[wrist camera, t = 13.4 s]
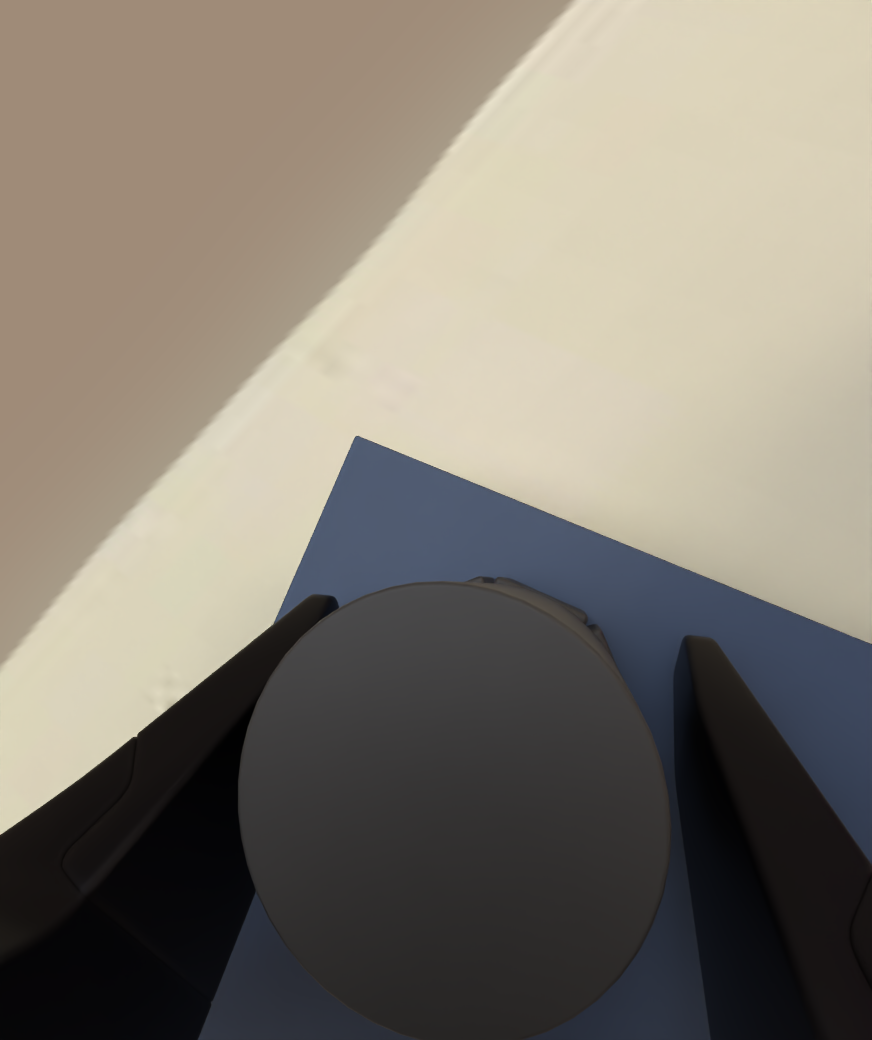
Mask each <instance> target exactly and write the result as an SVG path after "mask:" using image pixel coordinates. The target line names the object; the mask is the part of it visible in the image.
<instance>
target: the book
mask: <svg viewBox="0 0 872 1040" xmlns="http://www.w3.org/2000/svg"><path fill="white" fill-rule="evenodd" d="M478 576H484V577H493V578H494V580H495V579H496V578H497V577H506V578H511V579H513V580H515V581H518V582H520V583H522V584H524V585H527V586H529V587H531V588H533V589H536V590H538V591H540V592H542V593H545V594H547V595H549V596H551V597H554V598H556V599H558V600H561V601H563V602H565V603H567V604H570V605H572V606H574V607H576V608H579V609H581V610H583V611H584V612H585V613H586V614H587V616H588V621H587V624H586V626H589V625H592V624H597V625H598V626H599V627H600V629H601V630H602V632H603V634H604V636H605V639H606V641H607V644H608V646H609V648H610V651H611V653H612V656H613V658H614V660H615V663H616V665H617V668H618V670H619V672H620V673H621V675H622V677H623V679H624V681H625V683H626V684H627V686H628V688H629V690H630V692H631V694H632V695H633V697H634V699H635V701H636V703H637V705H638V707H639V709H640V711H641V713H642V715H643V717H644V719H645V721H646V723H647V725H648V727H649V729H650V731H651V733H652V736H653V739H654V742H655V745H656V748H657V750H658V753H659V756H660V759H661V762H662V766H663V770H664V775H665V780H666V785H667V789H668V794H669V804H670V816H671V847H670V863H669V868H668V873H667V878H666V883H665V889H664V894H663V897H662V900H661V902H660V905H659V908H658V911H657V914H656V917H655V920H654V923H653V925H652V927H651V929H650V931H649V933H648V935H647V937H646V939H645V941H644V942H643V944H642V946H641V948H640V950H639V952H638V954H637V955H636V956H635V958H634V959H633V960H632V962H631V963H630V965H629V966H628V967H627V969H626V970H625V971H624V973H623V974H622V976H621V977H620V978H619V979H618V980H617V981H616V982H615V983H614V984H613V985H612V986H611V987H610V988H609V989H608V990H607V991H606V992H605V993H604V994H603V995H602V996H601V997H600V998H599V999H598V1000H597V1001H596V1002H595V1003H593V1004H592V1005H591V1006H589V1007H588V1008H587V1009H585V1010H584V1011H582V1012H581V1013H580V1014H578V1015H577V1016H576V1017H574V1018H573V1019H571V1020H569V1021H567V1022H565V1023H563V1024H561V1025H559V1026H557V1027H555V1028H554V1029H552V1030H550V1031H548V1032H545V1033H542V1034H539V1035H536V1036H533V1037H530V1038H527V1039H524V1040H711V1038H710V1031H709V1024H708V1016H707V1009H706V1002H705V995H704V988H703V980H702V973H701V966H700V959H699V952H698V944H697V937H696V930H695V923H694V916H693V908H692V901H691V894H690V887H689V880H688V872H687V865H686V858H685V851H684V843H683V836H682V829H681V822H680V815H679V807H678V800H677V792H676V783H675V765H674V697H673V678H674V669H675V665H676V661H677V657H678V653H679V650H680V646H681V642H682V639H683V638H684V636H686V635H694V636H703V637H710V638H712V639H714V640H715V641H716V642H717V643H718V645H719V646H720V647H721V649H722V650H723V652H724V653H725V655H726V656H727V657H728V659H729V660H730V662H731V663H732V665H733V666H734V668H735V669H736V670H737V672H738V673H739V675H740V676H741V678H742V679H743V680H744V682H745V683H746V685H747V686H748V688H749V689H750V690H751V692H752V693H753V695H754V696H755V698H756V699H757V701H758V702H759V703H760V705H761V706H762V708H763V709H764V711H765V712H766V713H767V715H768V716H769V718H770V719H771V721H772V722H773V724H774V725H775V726H776V728H777V729H778V731H779V732H780V734H781V735H782V736H783V738H784V739H785V741H786V742H787V744H788V745H789V746H790V748H791V749H792V751H793V752H794V754H795V755H796V757H797V758H798V759H799V761H800V762H801V764H802V765H803V767H804V768H805V769H806V771H807V772H808V774H809V775H810V777H811V778H812V779H813V781H814V782H815V784H816V785H817V787H818V788H819V790H820V791H821V792H822V794H823V795H824V797H825V798H826V800H827V801H828V802H829V804H830V805H831V807H832V808H833V810H834V811H835V813H836V814H837V815H838V817H839V818H840V820H841V821H842V823H843V824H844V825H845V827H846V828H847V830H848V831H849V833H850V834H851V835H852V837H853V838H854V840H855V841H856V843H857V844H858V846H859V847H860V848H861V850H862V851H863V853H864V854H865V856H866V857H867V858H868V860H869V861H870V863H871V864H872V644H870V643H867V642H865V641H862V640H860V639H857V638H855V637H852V636H850V635H847V634H845V633H842V632H840V631H837V630H835V629H833V628H830V627H828V626H825V625H823V624H820V623H818V622H815V621H813V620H810V619H808V618H805V617H803V616H800V615H798V614H796V613H793V612H791V611H788V610H786V609H783V608H781V607H778V606H776V605H773V604H771V603H768V602H766V601H764V600H761V599H759V598H756V597H754V596H751V595H749V594H746V593H744V592H741V591H739V590H736V589H734V588H731V587H729V586H727V585H724V584H722V583H719V582H717V581H714V580H712V579H709V578H707V577H704V576H702V575H699V574H697V573H694V572H692V571H690V570H687V569H685V568H682V567H680V566H677V565H675V564H672V563H670V562H667V561H665V560H662V559H660V558H658V557H655V556H653V555H650V554H648V553H645V552H643V551H640V550H638V549H635V548H633V547H630V546H628V545H625V544H623V543H621V542H618V541H616V540H613V539H611V538H608V537H606V536H603V535H601V534H598V533H596V532H593V531H591V530H588V529H586V528H584V527H581V526H579V525H576V524H574V523H571V522H569V521H566V520H564V519H561V518H559V517H556V516H554V515H552V514H549V513H547V512H544V511H542V510H539V509H537V508H534V507H532V506H529V505H527V504H524V503H522V502H519V501H517V500H515V499H512V498H510V497H507V496H505V495H502V494H500V493H497V492H495V491H492V490H490V489H487V488H485V487H482V486H480V485H478V484H475V483H473V482H470V481H468V480H465V479H463V478H460V477H458V476H455V475H453V474H450V473H448V472H446V471H443V470H441V469H438V468H436V467H433V466H431V465H428V464H426V463H423V462H421V461H418V460H416V459H413V458H411V457H409V456H406V455H404V454H401V453H399V452H396V451H394V450H391V449H389V448H386V447H384V446H381V445H379V444H377V443H374V442H372V441H369V440H367V439H364V438H362V437H359V436H356V437H355V438H354V441H353V443H352V445H351V448H350V450H349V452H348V454H347V457H346V459H345V461H344V464H343V466H342V468H341V471H340V473H339V475H338V477H337V480H336V482H335V484H334V487H333V489H332V491H331V493H330V496H329V498H328V500H327V503H326V505H325V507H324V510H323V512H322V514H321V516H320V519H319V521H318V523H317V526H316V528H315V530H314V533H313V535H312V537H311V539H310V542H309V544H308V546H307V549H306V551H305V553H304V555H303V558H302V560H301V562H300V565H299V567H298V569H297V572H296V574H295V576H294V578H293V581H292V583H291V585H290V588H289V590H288V592H287V594H286V597H285V599H284V601H283V604H282V606H281V608H280V611H279V613H278V615H277V617H276V620H275V622H274V624H275V623H276V622H277V621H278V620H280V619H281V618H282V617H283V616H285V615H286V614H287V613H288V612H289V611H291V610H292V609H293V608H294V607H296V606H297V605H298V604H299V603H301V602H302V601H303V600H304V599H306V598H307V597H308V596H310V595H312V594H322V595H331V596H334V597H335V598H336V599H337V601H338V604H339V608H340V607H341V606H343V605H345V604H347V603H349V602H351V601H353V600H356V599H358V598H360V597H362V596H364V595H366V594H369V593H372V592H376V591H379V590H382V589H385V588H388V587H392V586H397V585H403V584H409V583H414V582H433V581H453V582H465V581H468V580H470V579H473V578H475V577H478ZM198 1040H418V1039H414V1038H410V1037H407V1036H403V1035H400V1034H398V1033H396V1032H393V1031H391V1030H389V1029H386V1028H384V1027H382V1026H379V1025H377V1024H375V1023H373V1022H371V1021H369V1020H368V1019H366V1018H364V1017H363V1016H361V1015H359V1014H358V1013H356V1012H354V1011H353V1010H351V1009H349V1008H348V1007H347V1006H345V1005H344V1004H343V1003H341V1002H340V1001H339V1000H338V999H336V998H335V997H334V996H332V995H331V994H330V993H329V992H327V991H326V990H325V989H324V988H323V987H322V986H321V985H320V984H319V983H318V982H317V981H316V980H315V979H314V978H313V977H312V976H311V975H310V974H309V973H308V972H307V971H306V970H305V969H304V968H303V967H302V966H301V965H300V963H299V962H298V961H297V960H296V958H295V957H294V956H293V954H292V953H291V952H290V951H289V949H288V948H287V947H286V946H285V944H284V943H283V941H282V939H281V938H280V936H279V935H278V933H277V931H276V930H275V928H274V926H273V925H272V923H271V922H270V920H269V918H268V916H267V914H266V912H265V910H264V907H263V905H262V903H261V901H260V899H259V897H258V895H257V892H256V893H255V895H254V898H253V900H252V903H251V905H250V908H249V910H248V913H247V916H246V918H245V921H244V923H243V926H242V928H241V931H240V933H239V936H238V938H237V941H236V943H235V946H234V949H233V951H232V954H231V956H230V959H229V961H228V964H227V966H226V969H225V971H224V974H223V977H222V979H221V982H220V984H219V987H218V989H217V992H216V994H215V997H214V999H213V1001H212V1002H211V1008H210V1010H209V1013H208V1016H207V1018H206V1021H205V1023H204V1026H203V1028H202V1031H201V1033H200V1036H199V1038H198Z"/></svg>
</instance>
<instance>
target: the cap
mask: <svg viewBox="0 0 872 1040" xmlns="http://www.w3.org/2000/svg"><path fill="white" fill-rule="evenodd" d="M587 621H588V616H587V614H586V613H585V612H584V611H583V610H581V609H579V608H576V607H574V606H572V605H570V604H567V603H565V602H563V601H561V600H558V599H556V598H554V597H551V596H549V595H547V594H545V593H542V592H540V591H538V590H536V589H533V588H531V587H529V586H527V585H524V584H522V583H520V582H518V581H515V580H513V579H511V578H506V577H497V578H496V579H495V580H494V578H493V577H484V576H478V577H475V578H473V579H470V580H468V581H465V582H453V581H433V582H414V583H409V584H403V585H397V586H392V587H388V588H385V589H382V590H379V591H376V592H372V593H369V594H366V595H364V596H362V597H360V598H358V599H356V600H353V601H351V602H349V603H347V604H345V605H343V606H341V607H340V608H338V609H337V610H335V611H334V612H332V613H331V614H329V615H328V616H326V617H325V618H323V619H322V620H320V621H319V622H318V623H317V624H316V625H314V626H313V627H312V628H311V629H310V630H309V631H308V632H306V633H305V634H304V635H303V636H302V637H301V638H300V639H299V640H298V641H297V642H296V643H295V645H294V646H293V647H292V648H291V649H290V650H289V651H288V652H287V654H286V655H285V656H284V657H283V659H282V660H281V662H280V663H279V665H278V666H277V667H276V669H275V670H274V672H273V673H272V675H271V676H270V678H269V680H268V682H267V684H266V686H265V687H264V689H263V691H262V693H261V695H260V697H259V699H258V701H257V703H256V706H255V709H254V712H253V714H252V717H251V720H250V723H249V725H248V728H247V732H246V736H245V741H244V745H243V749H242V753H241V761H240V769H239V778H238V814H239V823H240V833H241V840H242V844H243V849H244V853H245V858H246V862H247V866H248V869H249V872H250V875H251V878H252V881H253V884H254V887H255V889H256V892H257V895H258V897H259V899H260V901H261V903H262V905H263V907H264V910H265V912H266V914H267V916H268V918H269V920H270V922H271V923H272V925H273V926H274V928H275V930H276V931H277V933H278V935H279V936H280V938H281V939H282V941H283V943H284V944H285V946H286V947H287V948H288V949H289V951H290V952H291V953H292V954H293V956H294V957H295V958H296V960H297V961H298V962H299V963H300V965H301V966H302V967H303V968H304V969H305V970H306V971H307V972H308V973H309V974H310V975H311V976H312V977H313V978H314V979H315V980H316V981H317V982H318V983H319V984H320V985H321V986H322V987H323V988H324V989H325V990H326V991H327V992H329V993H330V994H331V995H332V996H334V997H335V998H336V999H338V1000H339V1001H340V1002H341V1003H343V1004H344V1005H345V1006H347V1007H348V1008H349V1009H351V1010H353V1011H354V1012H356V1013H358V1014H359V1015H361V1016H363V1017H364V1018H366V1019H368V1020H369V1021H371V1022H373V1023H375V1024H377V1025H379V1026H382V1027H384V1028H386V1029H389V1030H391V1031H393V1032H396V1033H398V1034H400V1035H403V1036H407V1037H410V1038H414V1039H418V1040H524V1039H527V1038H530V1037H533V1036H536V1035H539V1034H542V1033H545V1032H548V1031H550V1030H552V1029H554V1028H555V1027H557V1026H559V1025H561V1024H563V1023H565V1022H567V1021H569V1020H571V1019H573V1018H574V1017H576V1016H577V1015H578V1014H580V1013H581V1012H582V1011H584V1010H585V1009H587V1008H588V1007H589V1006H591V1005H592V1004H593V1003H595V1002H596V1001H597V1000H598V999H599V998H600V997H601V996H602V995H603V994H604V993H605V992H606V991H607V990H608V989H609V988H610V987H611V986H612V985H613V984H614V983H615V982H616V981H617V980H618V979H619V978H620V977H621V976H622V974H623V973H624V971H625V970H626V969H627V967H628V966H629V965H630V963H631V962H632V960H633V959H634V958H635V956H636V955H637V954H638V952H639V950H640V948H641V946H642V944H643V942H644V941H645V939H646V937H647V935H648V933H649V931H650V929H651V927H652V925H653V923H654V920H655V917H656V914H657V911H658V908H659V905H660V902H661V900H662V897H663V894H664V889H665V883H666V878H667V873H668V868H669V863H670V847H671V816H670V804H669V794H668V789H667V785H666V780H665V775H664V770H663V766H662V762H661V759H660V756H659V753H658V750H657V748H656V745H655V742H654V739H653V736H652V733H651V731H650V729H649V727H648V725H647V723H646V721H645V719H644V717H643V715H642V713H641V711H640V709H639V707H638V705H637V703H636V701H635V699H634V697H633V695H632V694H631V692H630V690H629V688H628V686H627V684H626V683H625V681H624V679H623V677H622V675H621V673H620V672H619V670H618V668H617V665H616V663H615V660H614V658H613V656H612V653H611V651H610V648H609V646H608V644H607V641H606V639H605V636H604V634H603V632H602V630H601V629H600V627H599V626H598V625H597V624H592V625H589V626H586V624H587Z"/></svg>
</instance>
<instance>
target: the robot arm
mask: <svg viewBox="0 0 872 1040" xmlns="http://www.w3.org/2000/svg"><path fill="white" fill-rule="evenodd" d="M338 608H339V604H338V601H337V599H336V598H335V597H334V596H331V595H322V594H312V595H310V596H308V597H307V598H306V599H304V600H303V601H302V602H301V603H299V604H298V605H297V606H296V607H294V608H293V609H292V610H291V611H289V612H288V613H287V614H286V615H285V616H283V617H282V618H281V619H280V620H278V621H277V622H276V623H275V624H273V625H272V626H271V627H270V628H268V629H267V630H266V631H265V632H263V633H262V634H261V635H260V636H258V637H257V638H256V639H255V640H253V641H252V642H251V643H250V644H248V645H247V646H246V647H245V648H244V649H242V650H241V651H240V652H239V653H237V654H236V655H235V656H234V657H232V658H231V659H230V660H229V661H227V662H226V663H225V664H224V665H222V666H221V667H220V668H219V669H217V670H216V671H215V672H214V673H212V674H211V675H210V676H209V677H208V678H206V679H205V680H204V681H203V682H201V683H200V684H199V685H198V686H196V687H195V688H194V689H193V690H191V691H190V692H189V693H188V694H186V695H185V696H184V697H183V698H181V699H180V700H179V701H178V702H176V703H175V704H174V705H173V706H171V707H170V708H169V709H168V710H167V711H165V712H164V713H163V714H162V715H160V716H159V717H158V718H157V719H155V720H154V721H153V722H152V723H150V724H149V725H148V726H147V727H145V728H144V729H143V730H142V731H140V732H139V733H138V735H137V737H133V738H131V739H130V740H129V741H128V742H127V743H125V744H124V745H123V746H122V747H120V748H119V749H118V750H117V751H115V752H114V753H113V754H112V755H110V756H109V757H108V758H106V759H105V760H104V761H103V762H101V763H100V764H99V765H97V766H96V767H95V768H93V769H92V770H91V771H90V772H88V773H87V774H86V775H84V776H83V777H82V778H81V779H79V780H78V781H76V782H75V783H74V784H72V785H71V786H69V787H68V788H67V789H65V790H64V791H62V792H61V793H60V794H58V795H57V796H56V797H54V798H53V799H51V800H50V801H49V802H47V803H46V804H44V805H43V806H41V807H40V808H39V809H37V810H36V811H34V812H33V813H31V814H30V815H29V816H27V817H26V818H24V819H23V820H21V821H20V822H18V823H17V824H16V825H14V826H13V827H11V828H10V829H8V830H7V831H5V832H4V833H3V834H1V835H0V1040H198V1038H199V1036H200V1033H201V1031H202V1028H203V1026H204V1023H205V1021H206V1018H207V1016H208V1013H209V1010H210V1008H211V1002H212V1001H213V999H214V997H215V994H216V992H217V989H218V987H219V984H220V982H221V979H222V977H223V974H224V971H225V969H226V966H227V964H228V961H229V959H230V956H231V954H232V951H233V949H234V946H235V943H236V941H237V938H238V936H239V933H240V931H241V928H242V926H243V923H244V921H245V918H246V916H247V913H248V910H249V908H250V905H251V903H252V900H253V898H254V895H255V893H256V889H255V887H254V884H253V881H252V878H251V875H250V872H249V869H248V866H247V862H246V858H245V853H244V849H243V844H242V840H241V833H240V823H239V814H238V778H239V769H240V761H241V753H242V749H243V745H244V741H245V736H246V732H247V728H248V725H249V723H250V720H251V717H252V714H253V712H254V709H255V706H256V703H257V701H258V699H259V697H260V695H261V693H262V691H263V689H264V687H265V686H266V684H267V682H268V680H269V678H270V676H271V675H272V673H273V672H274V670H275V669H276V667H277V666H278V665H279V663H280V662H281V660H282V659H283V657H284V656H285V655H286V654H287V652H288V651H289V650H290V649H291V648H292V647H293V646H294V645H295V643H296V642H297V641H298V640H299V639H300V638H301V637H302V636H303V635H304V634H305V633H306V632H308V631H309V630H310V629H311V628H312V627H313V626H314V625H316V624H317V623H318V622H319V621H320V620H322V619H323V618H325V617H326V616H328V615H329V614H331V613H332V612H334V611H335V610H337V609H338ZM673 697H674V765H675V783H676V792H677V800H678V807H679V815H680V822H681V829H682V836H683V843H684V851H685V858H686V865H687V872H688V880H689V887H690V894H691V901H692V908H693V916H694V923H695V930H696V937H697V944H698V952H699V959H700V966H701V973H702V980H703V988H704V995H705V1002H706V1009H707V1016H708V1024H709V1031H710V1038H711V1040H872V864H871V863H870V861H869V860H868V858H867V857H866V856H865V854H864V853H863V851H862V850H861V848H860V847H859V846H858V844H857V843H856V841H855V840H854V838H853V837H852V835H851V834H850V833H849V831H848V830H847V828H846V827H845V825H844V824H843V823H842V821H841V820H840V818H839V817H838V815H837V814H836V813H835V811H834V810H833V808H832V807H831V805H830V804H829V802H828V801H827V800H826V798H825V797H824V795H823V794H822V792H821V791H820V790H819V788H818V787H817V785H816V784H815V782H814V781H813V779H812V778H811V777H810V775H809V774H808V772H807V771H806V769H805V768H804V767H803V765H802V764H801V762H800V761H799V759H798V758H797V757H796V755H795V754H794V752H793V751H792V749H791V748H790V746H789V745H788V744H787V742H786V741H785V739H784V738H783V736H782V735H781V734H780V732H779V731H778V729H777V728H776V726H775V725H774V724H773V722H772V721H771V719H770V718H769V716H768V715H767V713H766V712H765V711H764V709H763V708H762V706H761V705H760V703H759V702H758V701H757V699H756V698H755V696H754V695H753V693H752V692H751V690H750V689H749V688H748V686H747V685H746V683H745V682H744V680H743V679H742V678H741V676H740V675H739V673H738V672H737V670H736V669H735V668H734V666H733V665H732V663H731V662H730V660H729V659H728V657H727V656H726V655H725V653H724V652H723V650H722V649H721V647H720V646H719V645H718V643H717V642H716V641H715V640H714V639H712V638H710V637H703V636H694V635H686V636H684V638H683V639H682V642H681V646H680V650H679V653H678V657H677V661H676V665H675V669H674V678H673Z"/></svg>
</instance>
